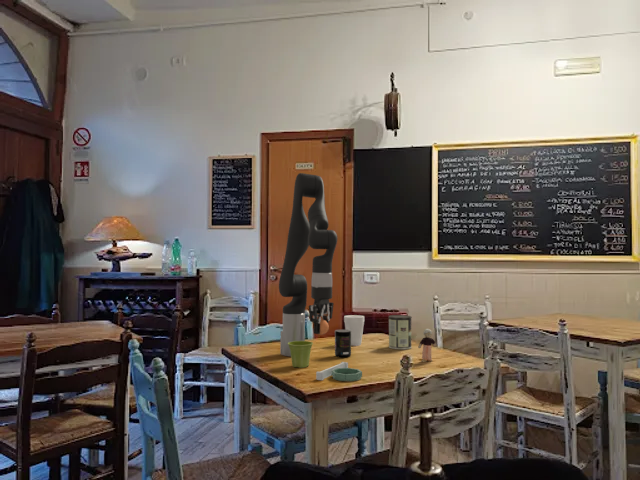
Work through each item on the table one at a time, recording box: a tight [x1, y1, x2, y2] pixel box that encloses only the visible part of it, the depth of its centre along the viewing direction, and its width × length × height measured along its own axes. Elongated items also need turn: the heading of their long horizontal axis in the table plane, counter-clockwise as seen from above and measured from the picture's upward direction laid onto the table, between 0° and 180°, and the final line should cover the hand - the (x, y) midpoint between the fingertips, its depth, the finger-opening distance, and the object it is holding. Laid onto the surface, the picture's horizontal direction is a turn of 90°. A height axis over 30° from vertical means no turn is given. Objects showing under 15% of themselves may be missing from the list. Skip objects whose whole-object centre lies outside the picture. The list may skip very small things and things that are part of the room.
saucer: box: [331, 367, 363, 382], centre depth 171 cm, size 10×10×2 cm
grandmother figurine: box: [418, 328, 437, 363], centre depth 199 cm, size 8×4×13 cm, turn 118°
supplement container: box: [334, 329, 352, 359], centre depth 208 cm, size 7×7×10 cm
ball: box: [319, 318, 330, 335], centre depth 181 cm, size 5×5×5 cm
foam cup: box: [343, 314, 365, 347], centre depth 235 cm, size 10×9×13 cm
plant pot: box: [288, 340, 314, 369], centre depth 189 cm, size 9×9×9 cm
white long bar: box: [315, 361, 349, 381], centre depth 176 cm, size 2×19×2 cm, turn 150°
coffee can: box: [388, 314, 413, 350], centre depth 228 cm, size 10×10×14 cm
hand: (321, 332), depth 181 cm, fingers closed on ball, 5 cm apart
